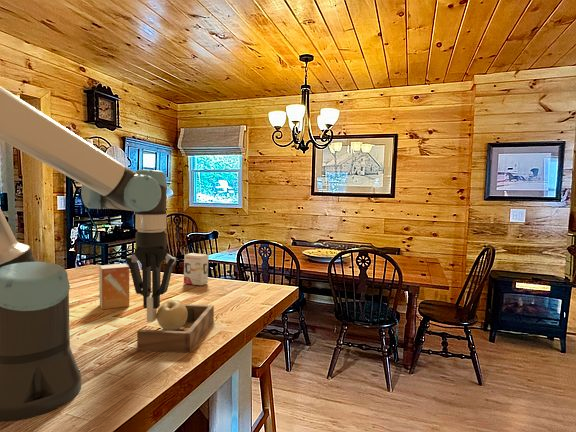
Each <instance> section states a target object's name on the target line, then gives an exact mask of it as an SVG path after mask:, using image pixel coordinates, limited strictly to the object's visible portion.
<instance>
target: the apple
mask: <svg viewBox="0 0 576 432" xmlns="http://www.w3.org/2000/svg"><path fill="white" fill-rule="evenodd" d="M184 304H185V303H183V302H181V301H179V300H175V299H172V300H171V299H170V300H168V301H166V302H164V303H162V304H160V306H159V307H158V308H157V319H156V320H157V324H158V325H159V327H161V328H162V329H163V330H164V331H178V330H179V329H180V328H182V327H183V326H184V325H185V323H187V322H186V320H187V317H188V312H187V309H186V307H185V305H184Z"/></svg>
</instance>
